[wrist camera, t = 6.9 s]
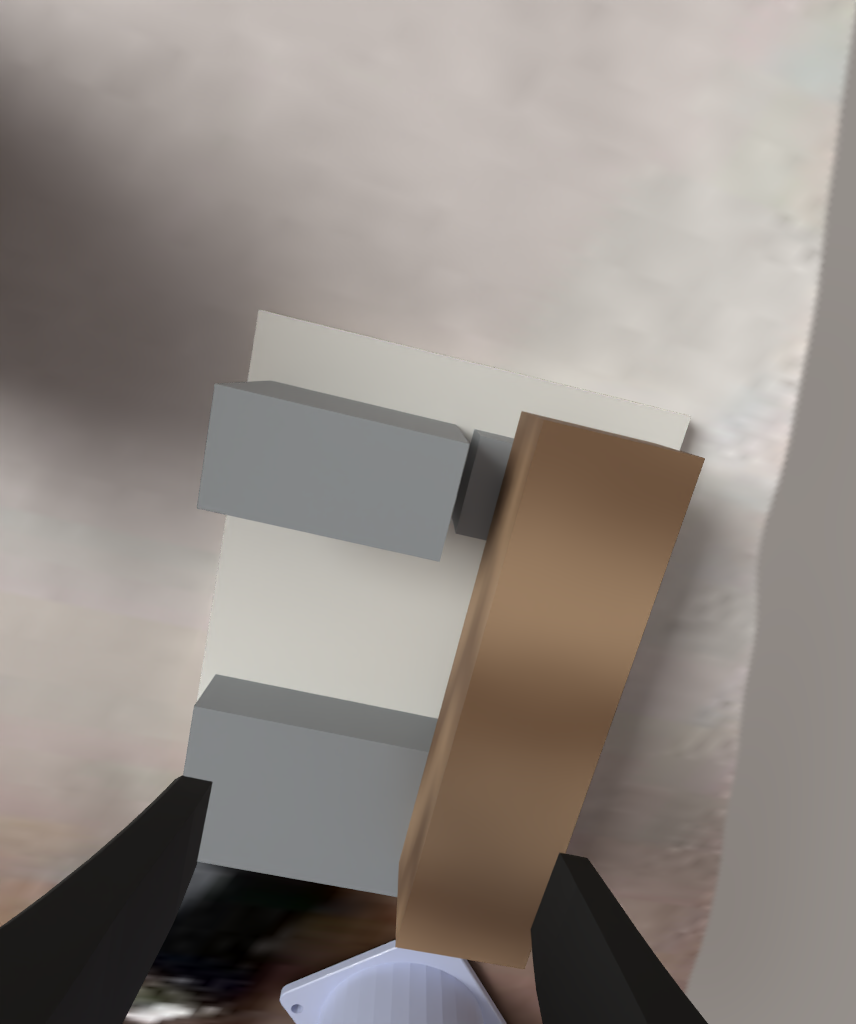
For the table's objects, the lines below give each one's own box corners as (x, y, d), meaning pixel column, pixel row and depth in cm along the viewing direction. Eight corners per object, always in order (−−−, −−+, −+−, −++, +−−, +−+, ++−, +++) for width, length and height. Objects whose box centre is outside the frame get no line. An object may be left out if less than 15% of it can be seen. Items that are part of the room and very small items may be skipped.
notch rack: (525, 864, 24) (560, 1025, 18) (188, 802, 23) (108, 951, 17) (677, 413, 19) (789, 431, 13) (267, 312, 18) (195, 284, 12)
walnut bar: (509, 883, 20) (524, 969, 17) (399, 862, 20) (395, 947, 17) (654, 442, 16) (705, 458, 14) (521, 411, 16) (544, 419, 13)
